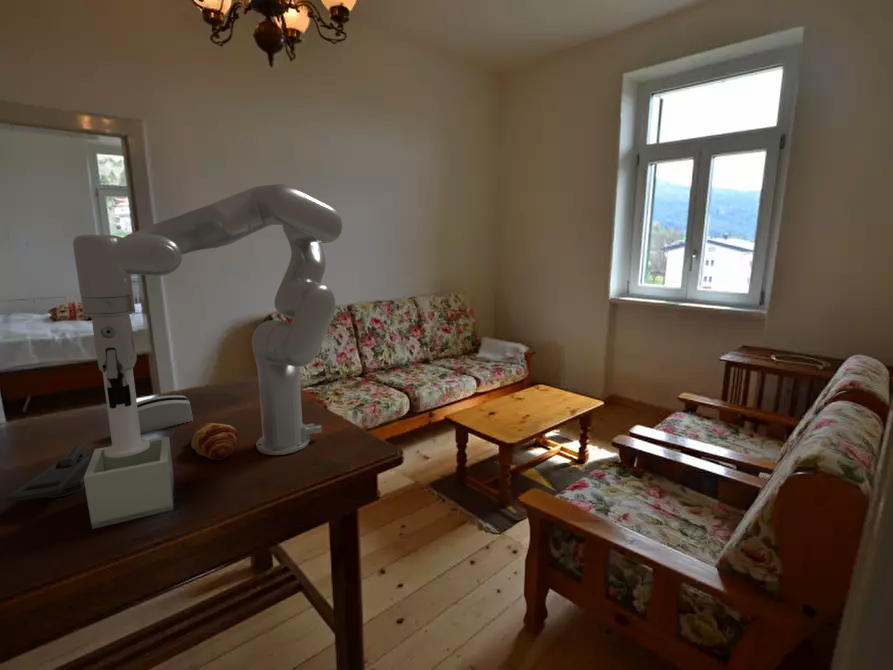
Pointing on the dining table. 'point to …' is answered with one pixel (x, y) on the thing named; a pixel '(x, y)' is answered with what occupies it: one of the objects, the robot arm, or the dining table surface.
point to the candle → (124, 423)
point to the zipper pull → (57, 477)
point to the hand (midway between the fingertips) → (122, 402)
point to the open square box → (129, 484)
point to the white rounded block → (163, 412)
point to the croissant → (214, 440)
